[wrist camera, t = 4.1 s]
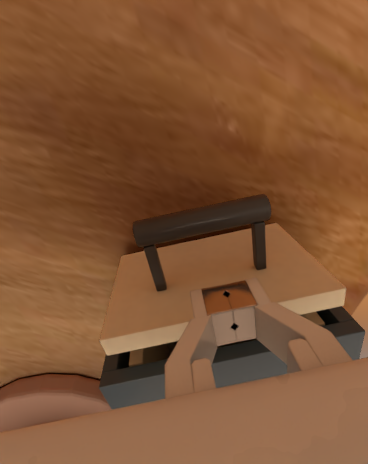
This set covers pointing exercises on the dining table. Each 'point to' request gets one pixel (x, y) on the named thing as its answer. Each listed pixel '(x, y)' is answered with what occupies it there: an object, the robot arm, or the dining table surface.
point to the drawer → (207, 275)
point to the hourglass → (49, 400)
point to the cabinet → (217, 364)
